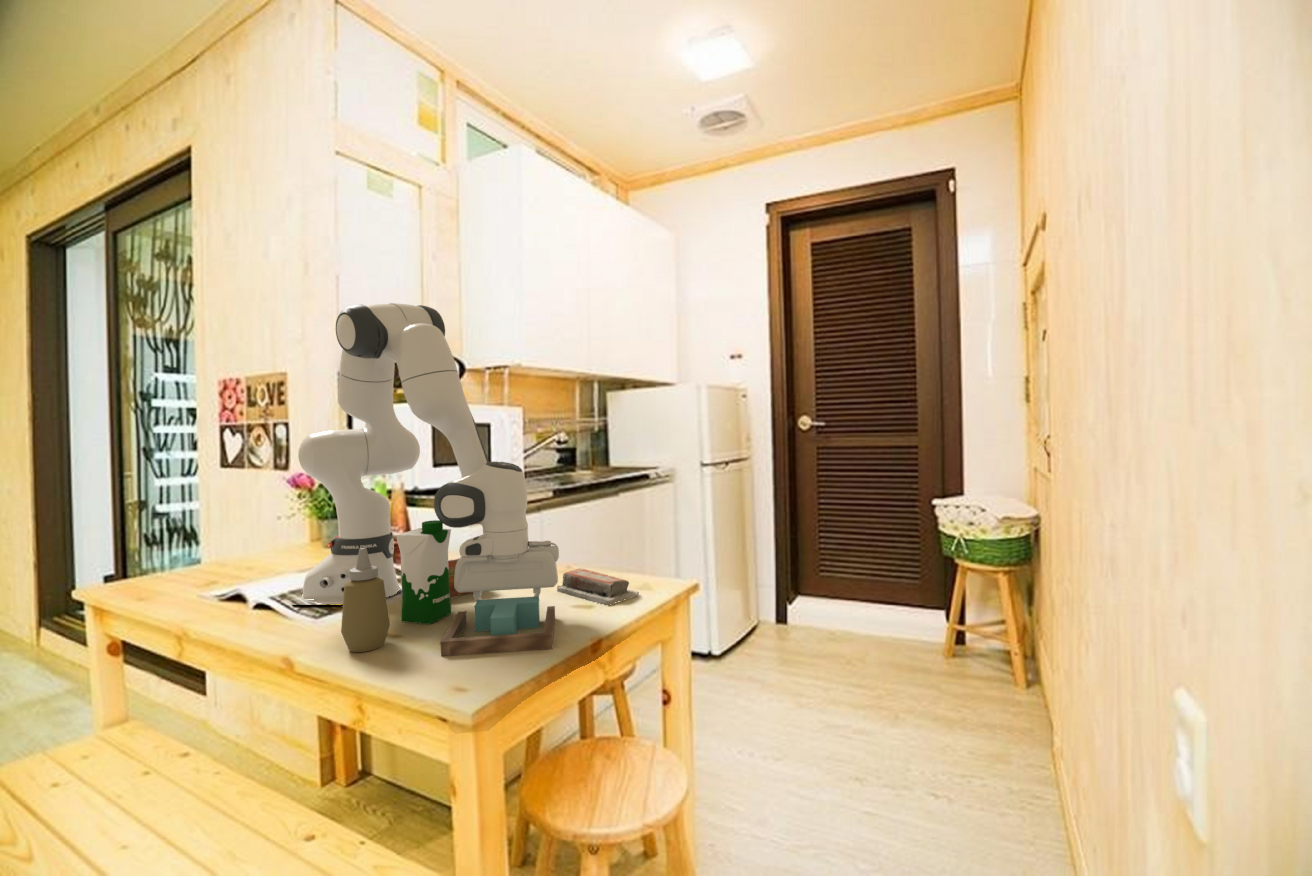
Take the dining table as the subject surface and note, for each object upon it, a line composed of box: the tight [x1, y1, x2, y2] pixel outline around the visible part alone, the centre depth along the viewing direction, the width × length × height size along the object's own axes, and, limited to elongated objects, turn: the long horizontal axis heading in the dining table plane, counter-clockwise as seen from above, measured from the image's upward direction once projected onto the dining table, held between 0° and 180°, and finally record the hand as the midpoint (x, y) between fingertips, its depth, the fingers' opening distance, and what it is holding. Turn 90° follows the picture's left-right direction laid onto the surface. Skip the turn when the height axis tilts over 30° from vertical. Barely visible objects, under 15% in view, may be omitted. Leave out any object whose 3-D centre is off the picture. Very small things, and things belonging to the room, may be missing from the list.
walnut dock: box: [440, 605, 556, 657], centre depth 116 cm, size 19×16×2 cm
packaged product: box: [556, 568, 640, 606], centre depth 142 cm, size 18×5×10 cm
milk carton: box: [395, 519, 452, 625], centre depth 127 cm, size 9×9×20 cm
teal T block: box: [473, 595, 541, 636], centre depth 117 cm, size 12×12×5 cm
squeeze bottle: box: [340, 548, 391, 653], centre depth 111 cm, size 8×8×18 cm
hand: (508, 610), depth 124 cm, fingers open, 8 cm apart
